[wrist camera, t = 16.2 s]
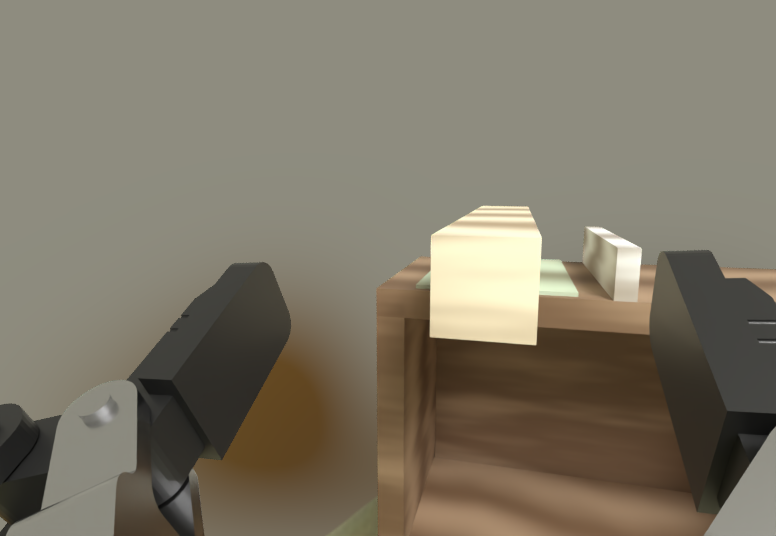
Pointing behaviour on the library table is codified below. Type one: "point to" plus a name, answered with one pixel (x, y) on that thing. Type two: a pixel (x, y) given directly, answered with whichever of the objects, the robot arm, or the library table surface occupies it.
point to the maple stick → (486, 277)
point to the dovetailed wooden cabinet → (534, 411)
